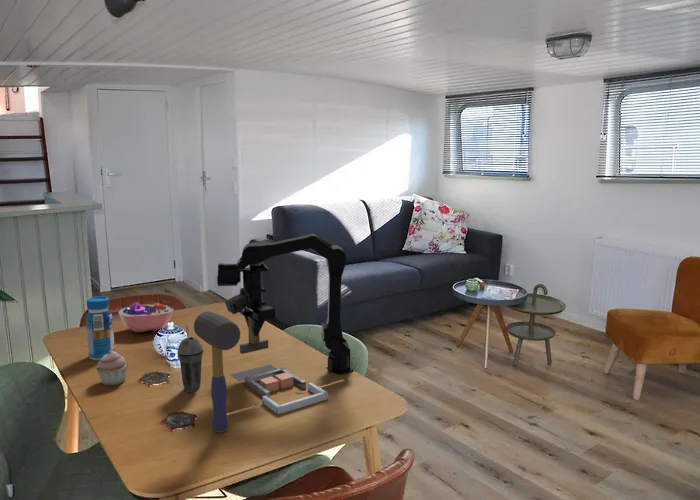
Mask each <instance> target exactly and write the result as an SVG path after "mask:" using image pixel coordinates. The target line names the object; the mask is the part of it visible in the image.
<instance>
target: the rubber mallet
mask: <svg viewBox="0 0 700 500" xmlns="http://www.w3.org/2000/svg"><path fill="white" fill-rule="evenodd" d="M193 331H194V333H195V335H196V336H198V338H200V339H201V340H202V341H204V342H205V343H206V344H208V345H210V346H211V356H212V358H211V359H212V361H211V362H212V376H211V384H210V385H211V386H210V394H211V396H210V397H211V401H212V416H213V417H212V422H211V426H212V428H213V430H214V432H215V433H224V432H225V431H226V430H227V428H228V426H229V420H228V415H227V397H228V391H227V383H226V382H227V381H226V376H225V374H224V359H223V351H228V350H231V349H233V348H234V347H236V346H237V344H238V343H239V341H240V338H241V330H240V328H239V326H238V324H236V323H235V322H234V321H232V320H231V319H229V318H228V317H225V316H224V315H221V314H218V313H215V312H212V311H203V312H202V313H200V314H199V315H198V316H197V317H196V318H195V320H194V322H193Z"/></svg>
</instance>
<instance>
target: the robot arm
mask: <svg viewBox="0 0 700 500" xmlns="http://www.w3.org/2000/svg"><path fill="white" fill-rule="evenodd" d="M310 249H312V250H313V251H314V252H316V253H318V254H319V255H321V257H323V258H324V259H325V261H326V268H327V272H328V273H327V274H328V290H327V291H328V293H327V295H328V296H327V303H328V304H327V318H326V322H322V323H321V327H322V329H321V330H322V332H321V333H320V335H321V339H322V342H323V343H324V346H325V347H326V348H327V349H328V350H330V351H329V352H328V357H327V367H325V369H326V370H327V371H329V372H330V373H333V374H336V375H339V376H340V375H344V374H346V373H347V374H348V373H351V372H353V371H354V368H352V367H351V348H350V346H349V344H348V340H347V339H346V338H344V337H343V335H344V334H343V329H342V324H341V302H342V301H341V299H342V277H343V273H344V271H345V267H346V262H347V254H346V252H345V251H344V249H343V248H342V247H341V246H340V245H336V244H333V245H332V244H330V243H329V242H328V241H326V240H324V239H322V237H321V238H320V237H319V236H318V235H317V234H315V233H310V234H307V235H302V236H298V237H293V238H289V239H284V240H278V241H275V242H260V241H259V242H249V243H247V244H245V245H244V247H243V248H242V253H241V257H240V258H239V259H237V262H236V263H225V262H224V263H221V262H220V263H218V264H217V276H216V282H217V287H235V286H238V284H239V283H242V286H243V287H241V288H240V289H239V294H236V295H233V296H232V297H231V298H229V299H227V300H225V301H224V305H225V307H226V309H227V311H228V313H231V315H235V314H238V313H239V314H241V316H243V318H244V319H245V322H246V326H247V327H248V317H249V318H250V319H251V320H252V325H253V332H254V336H258V334H259V335H260V332H261V330H262V327H263V326H264V323H266V320H270V319H275V318H277V316H278V315H277V313H278V312H277V311H278V310H277V309H275V308H274V307H272V306H270V305H266V301H264V299H263V293H265V292H266V288H264V287H263V272H268V271H269V266H267V265H266V264H265V263H264V262H265V261H267V260H269V259H271V258H273V257H276V256H281V255H286V254H291V253H295V252H299V251H305V250H310ZM248 266H249V267H248ZM265 305H266V306H265ZM249 315H251V316H249Z"/></svg>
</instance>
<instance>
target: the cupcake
mask: <svg viewBox="0 0 700 500" xmlns="http://www.w3.org/2000/svg"><path fill="white" fill-rule="evenodd" d="M129 365H130V364H129V363H128V362H127V361H126V360H125V358H124V357H123V356H122V355H120V354H119V353H118V352H117V351H116V350H115V351H111V350H110V351H109V354H106V355H104V356H103V357H102V359H101V360H98V363H97V367H96V368H95V371H96V372H97V374H98V375H99V378H100V380H101V382H102V383H101V384H103V385H104V386H109V387H110V386H116V385H117V386H118V385H121V384H123V383H124V382H125V380H126V375H127V370H128V367H129Z"/></svg>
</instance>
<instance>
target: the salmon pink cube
mask: <svg viewBox="0 0 700 500" xmlns="http://www.w3.org/2000/svg"><path fill="white" fill-rule="evenodd" d="M275 379H277V380H278V381H279V389H281V390H283V389H287V388H290V387H294V385H295V384H294V379H293V376H292V375H290V374H288V373H287V372H286V373H282V374H279V375H275Z"/></svg>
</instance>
